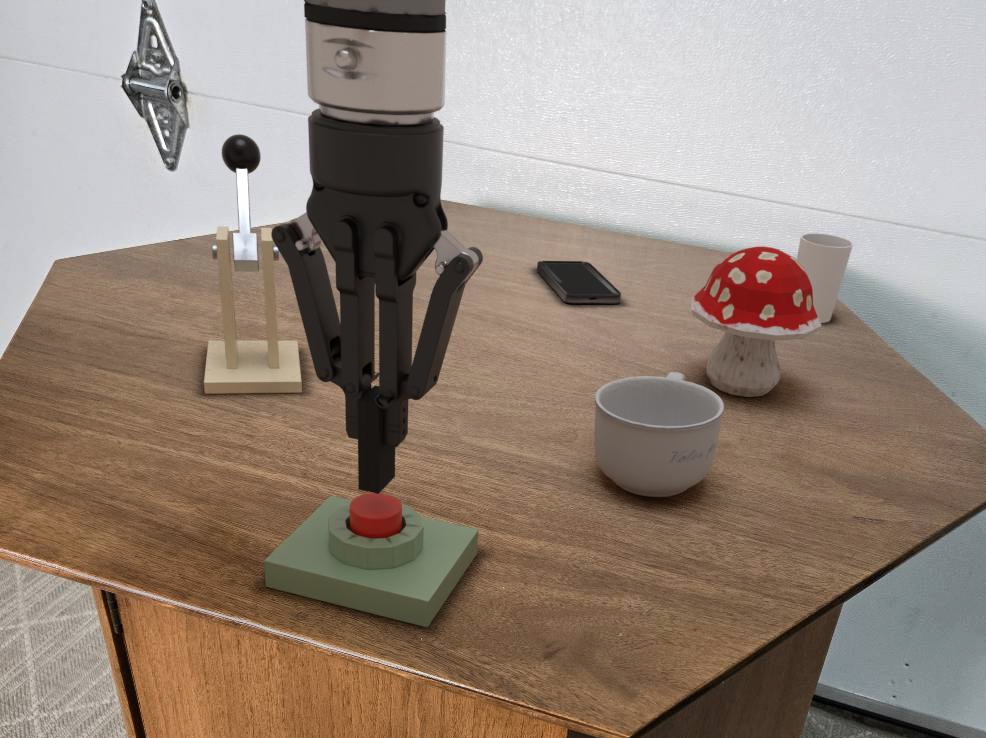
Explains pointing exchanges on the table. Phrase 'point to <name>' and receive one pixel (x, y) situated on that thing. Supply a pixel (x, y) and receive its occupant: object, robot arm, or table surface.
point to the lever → (243, 198)
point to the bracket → (250, 361)
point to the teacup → (656, 433)
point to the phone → (578, 282)
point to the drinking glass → (824, 268)
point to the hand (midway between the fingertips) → (376, 482)
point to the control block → (373, 563)
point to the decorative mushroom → (754, 317)
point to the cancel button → (375, 515)
